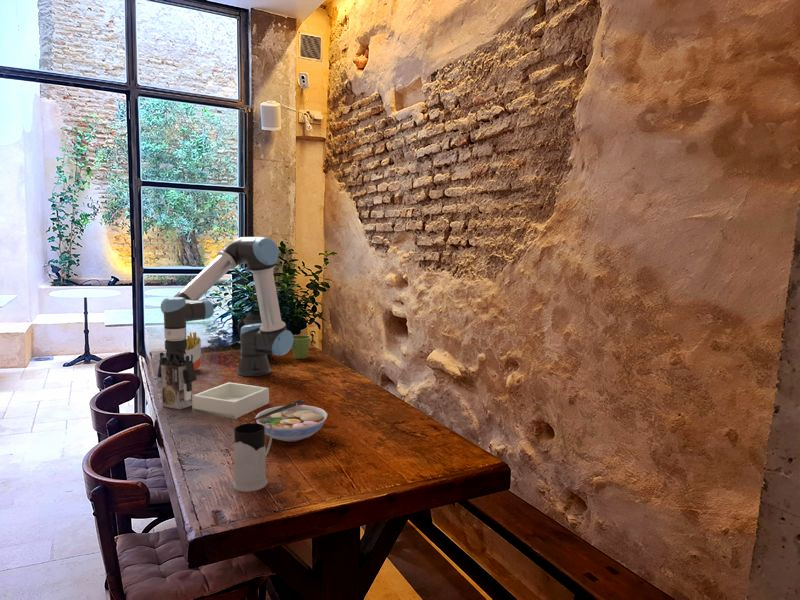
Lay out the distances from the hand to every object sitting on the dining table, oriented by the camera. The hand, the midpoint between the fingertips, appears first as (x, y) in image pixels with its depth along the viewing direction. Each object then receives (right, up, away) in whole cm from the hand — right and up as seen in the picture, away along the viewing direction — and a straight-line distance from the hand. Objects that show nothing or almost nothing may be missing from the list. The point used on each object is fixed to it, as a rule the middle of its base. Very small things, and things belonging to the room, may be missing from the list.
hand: (177, 397), depth 201 cm
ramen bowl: (+49, -8, -30) cm, 58 cm away
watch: (-20, +1, +37) cm, 42 cm away
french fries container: (-17, +3, +53) cm, 56 cm away
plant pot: (+30, +6, +85) cm, 90 cm away
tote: (+21, -3, 0) cm, 21 cm away
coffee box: (0, -3, 0) cm, 3 cm away
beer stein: (+7, +6, +81) cm, 82 cm away
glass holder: (+46, -11, -59) cm, 76 cm away
